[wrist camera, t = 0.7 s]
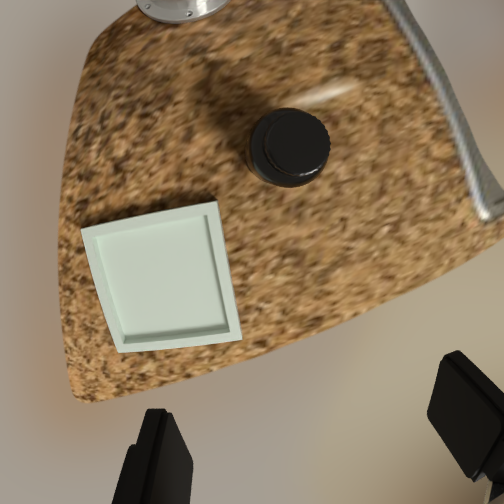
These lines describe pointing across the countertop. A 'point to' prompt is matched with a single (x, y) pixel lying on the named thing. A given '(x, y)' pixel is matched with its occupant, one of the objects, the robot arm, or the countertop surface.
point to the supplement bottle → (287, 148)
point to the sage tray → (164, 278)
